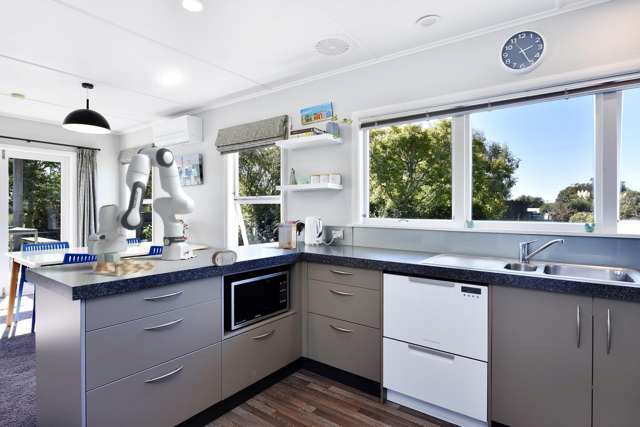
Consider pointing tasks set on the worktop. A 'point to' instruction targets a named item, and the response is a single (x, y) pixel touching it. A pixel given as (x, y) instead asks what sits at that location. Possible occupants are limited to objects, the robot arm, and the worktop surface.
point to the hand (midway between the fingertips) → (108, 261)
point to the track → (122, 267)
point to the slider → (109, 257)
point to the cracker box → (287, 235)
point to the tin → (224, 258)
